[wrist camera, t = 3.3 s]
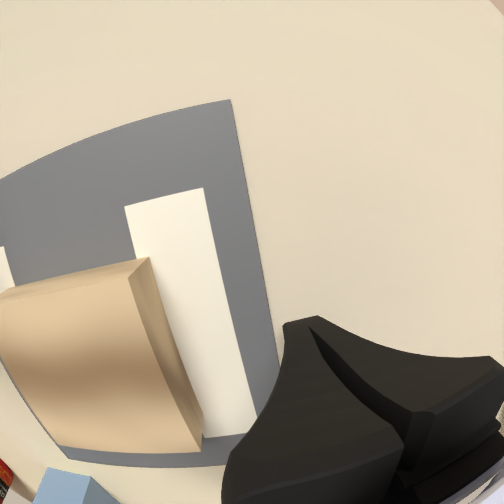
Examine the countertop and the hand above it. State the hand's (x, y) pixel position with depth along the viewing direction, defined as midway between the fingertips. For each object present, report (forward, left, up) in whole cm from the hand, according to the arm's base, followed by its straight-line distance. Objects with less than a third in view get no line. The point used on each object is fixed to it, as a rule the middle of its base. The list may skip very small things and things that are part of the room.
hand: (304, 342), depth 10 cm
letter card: (0, +9, -1) cm, 9 cm away
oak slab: (0, +9, -1) cm, 9 cm away
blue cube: (-14, +19, -2) cm, 24 cm away
